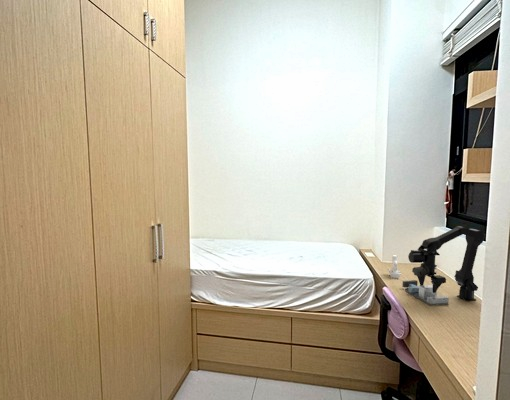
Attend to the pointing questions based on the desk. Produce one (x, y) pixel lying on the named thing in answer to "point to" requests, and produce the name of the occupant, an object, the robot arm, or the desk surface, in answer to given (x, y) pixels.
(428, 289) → the steel block
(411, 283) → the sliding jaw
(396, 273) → the figurine
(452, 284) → the desk surface
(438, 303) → the vise base
